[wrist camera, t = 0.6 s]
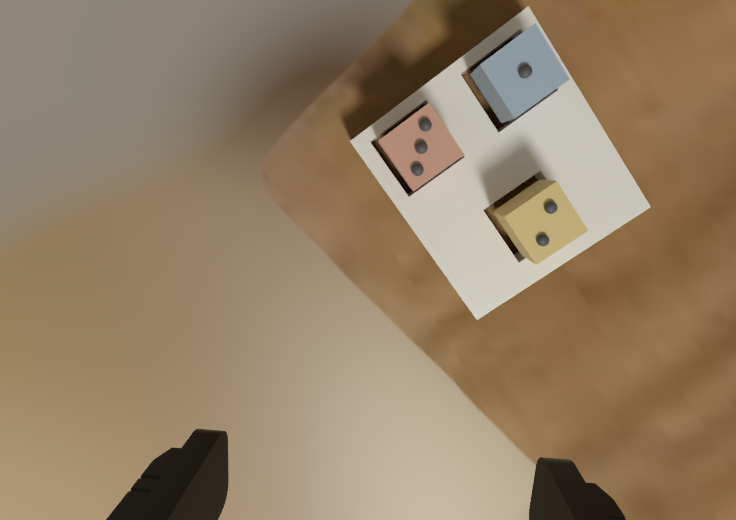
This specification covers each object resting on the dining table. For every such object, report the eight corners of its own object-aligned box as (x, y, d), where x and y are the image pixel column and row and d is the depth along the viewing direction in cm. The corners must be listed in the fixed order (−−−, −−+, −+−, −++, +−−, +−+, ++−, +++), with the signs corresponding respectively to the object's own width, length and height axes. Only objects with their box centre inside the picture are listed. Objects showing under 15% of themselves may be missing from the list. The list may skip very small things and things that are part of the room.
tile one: (519, 37, 28) (536, 21, 25) (550, 87, 28) (571, 78, 25) (469, 74, 28) (480, 63, 25) (501, 123, 29) (515, 118, 26)
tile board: (518, 16, 30) (528, 6, 28) (634, 204, 32) (650, 206, 30) (352, 142, 32) (349, 141, 30) (471, 311, 34) (477, 320, 32)
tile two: (539, 179, 30) (558, 181, 26) (568, 224, 30) (589, 231, 27) (492, 211, 30) (505, 217, 27) (521, 255, 31) (537, 265, 28)
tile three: (424, 108, 29) (429, 101, 26) (456, 155, 29) (465, 154, 26) (378, 142, 29) (378, 140, 26) (410, 188, 30) (413, 191, 27)
